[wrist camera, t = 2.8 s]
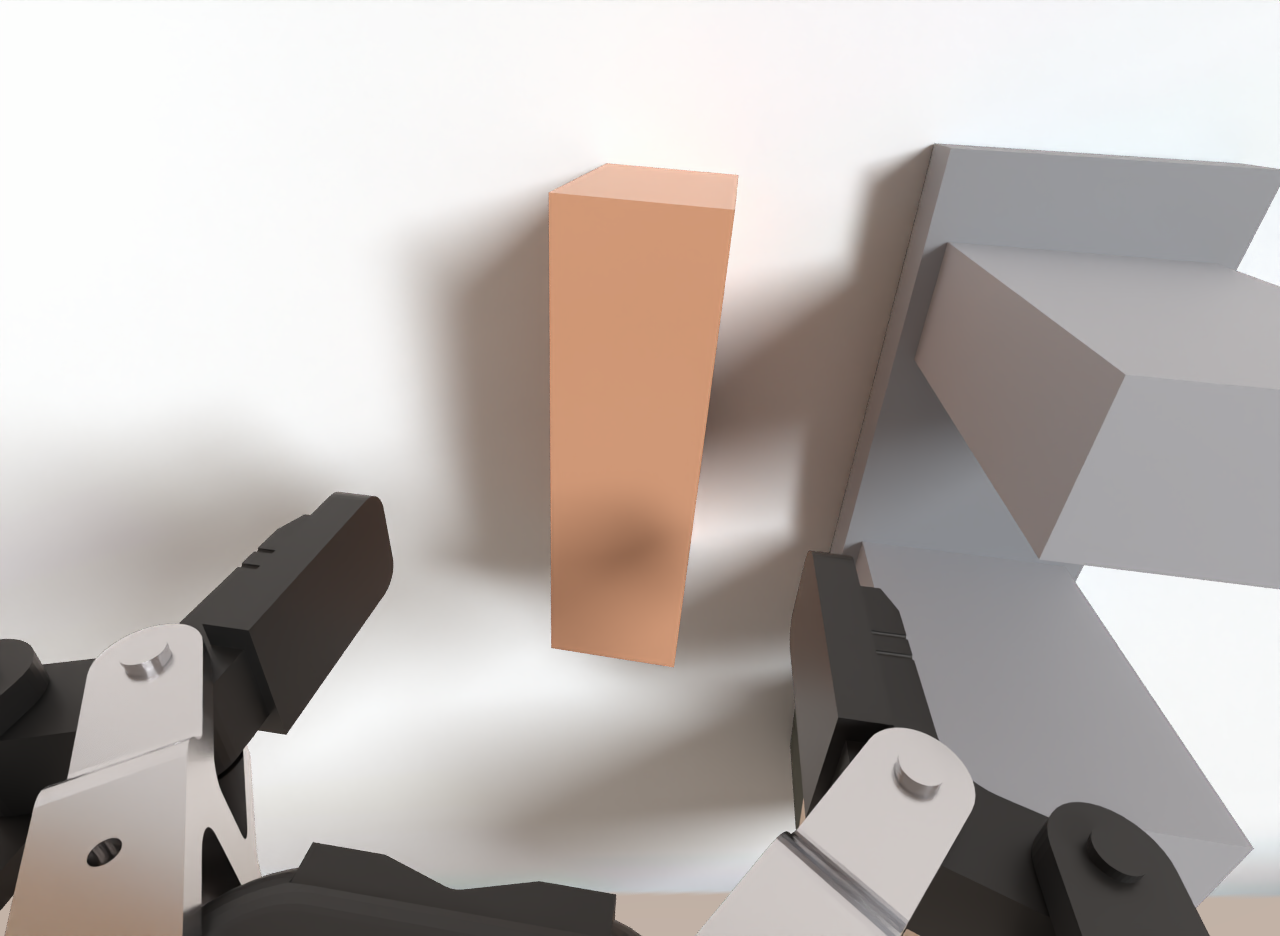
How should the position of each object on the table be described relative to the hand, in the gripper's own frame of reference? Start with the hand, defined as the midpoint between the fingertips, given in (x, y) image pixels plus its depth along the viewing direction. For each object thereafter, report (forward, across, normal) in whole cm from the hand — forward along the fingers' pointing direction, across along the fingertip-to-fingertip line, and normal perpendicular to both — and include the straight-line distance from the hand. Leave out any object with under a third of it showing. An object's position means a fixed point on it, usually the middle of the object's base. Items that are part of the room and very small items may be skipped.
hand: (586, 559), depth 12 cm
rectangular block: (+9, 0, 0) cm, 9 cm away
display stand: (+9, -10, +1) cm, 14 cm away
